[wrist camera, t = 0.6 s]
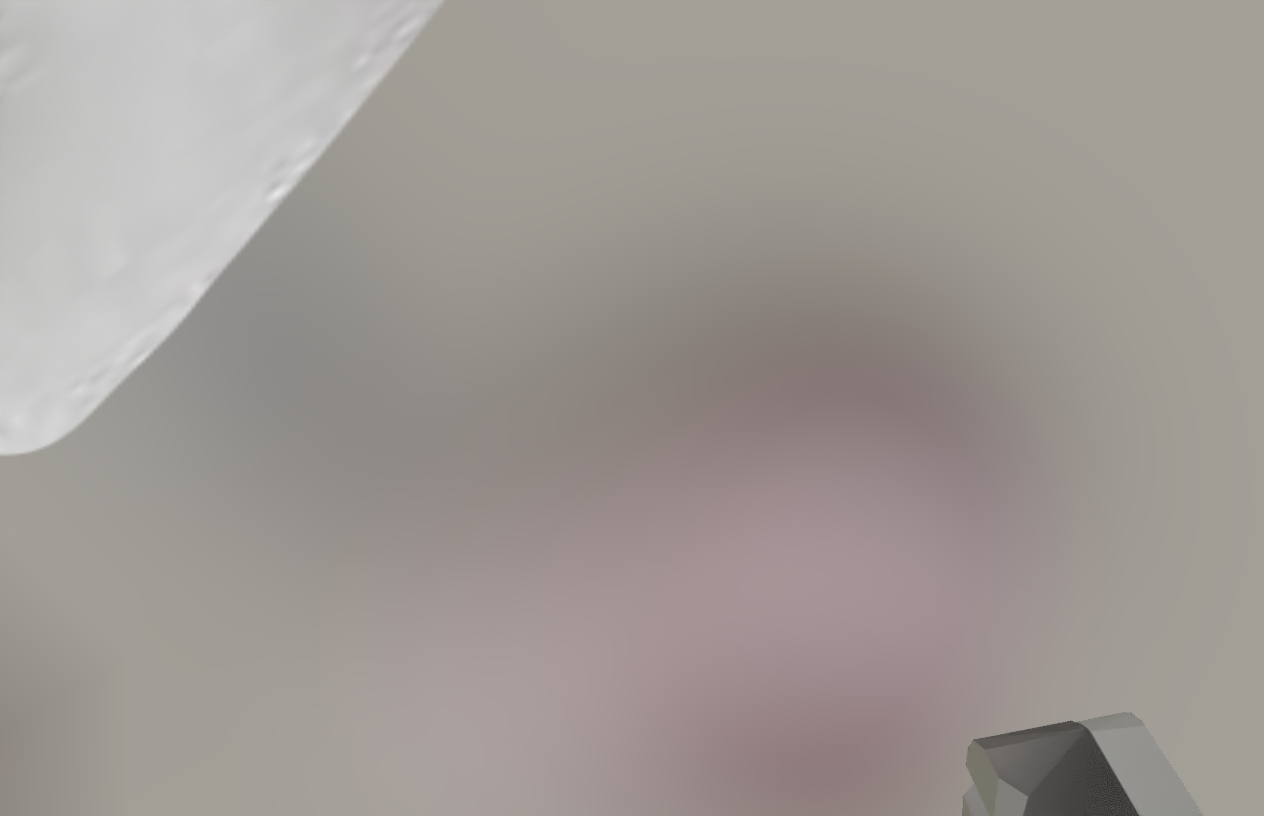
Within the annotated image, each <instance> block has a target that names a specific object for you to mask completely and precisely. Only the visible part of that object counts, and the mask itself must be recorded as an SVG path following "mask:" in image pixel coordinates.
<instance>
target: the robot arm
mask: <svg viewBox="0 0 1264 816" xmlns="http://www.w3.org/2000/svg"><path fill="white" fill-rule="evenodd" d="M966 766H967V768H968V770H969V773H970V775H971V777H972V779H973V782H974V784H973V785H972V786H971V788H970V789H969V790H968V791H967V792H966V793H965V794H964V795H963V811H962V816H1204V815H1203V813H1202V812H1201V810H1200V809H1199V807H1198V806H1197V804H1196V802H1195V801H1194V800H1193V798H1192V797H1191V795H1190V793H1189V792H1188V791H1187V789H1186V787H1185V786H1184V784H1183V783H1182V781H1181V780H1180V778H1179V777H1178V775H1177V773H1176V772H1175V770H1174V769H1173V767H1172V766H1171V764H1170V763H1169V761H1168V760H1167V758H1166V757H1165V755H1164V754H1163V752H1162V751H1161V749H1160V748H1159V746H1158V745H1157V743H1156V741H1155V740H1154V738H1153V737H1152V736H1151V734H1150V732H1149V731H1148V729H1147V728H1146V726H1145V725H1144V723H1143V722H1142V721H1141V720H1140V719H1139V718H1137V717H1136V716H1135V715H1134V714H1132V713H1124V712H1123V713H1118V714H1113V715H1108V716H1103V717H1099V718H1093V719H1088V720H1083V721H1078V722H1073V721H1067V722H1063V723H1057V724H1052V725H1047V726H1042V727H1036V728H1032V729H1026V730H1021V731H1016V732H1011V733H1006V734H1000V735H996V736H990V737H985V738H980V739H975V740H973V741H972V743H971V744H970V745H969V747H968V753H967V762H966Z"/></svg>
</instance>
